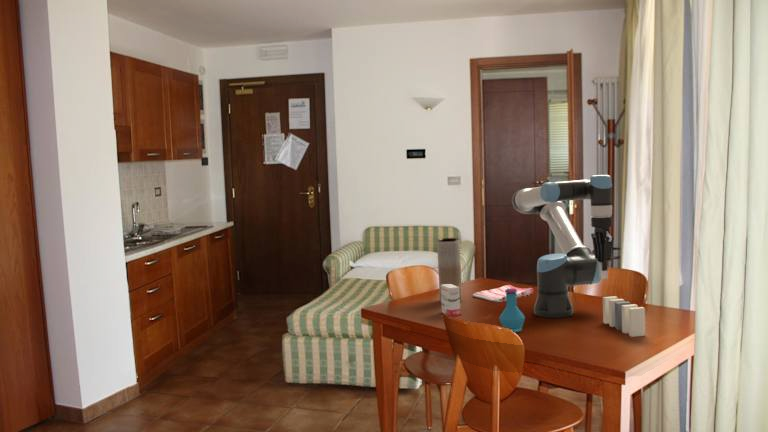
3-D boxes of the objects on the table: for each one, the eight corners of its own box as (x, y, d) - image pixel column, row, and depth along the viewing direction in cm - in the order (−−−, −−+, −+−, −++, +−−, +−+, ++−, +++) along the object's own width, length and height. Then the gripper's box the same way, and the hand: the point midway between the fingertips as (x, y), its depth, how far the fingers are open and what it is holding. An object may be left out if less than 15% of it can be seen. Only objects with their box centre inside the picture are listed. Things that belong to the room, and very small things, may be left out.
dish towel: (534, 295, 295) (534, 287, 295) (498, 304, 281) (498, 296, 281) (507, 289, 309) (506, 282, 308) (471, 298, 295) (471, 290, 295)
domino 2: (615, 328, 232) (614, 302, 232) (628, 327, 233) (627, 301, 232) (618, 330, 231) (617, 303, 230) (631, 328, 231) (630, 302, 231)
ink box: (461, 315, 264) (460, 286, 263) (450, 316, 262) (448, 288, 261) (452, 310, 272) (450, 283, 271) (441, 312, 270) (439, 284, 269)
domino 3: (638, 332, 227) (637, 305, 226) (624, 333, 226) (624, 306, 225) (635, 330, 229) (634, 304, 228) (622, 332, 228) (621, 305, 227)
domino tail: (645, 335, 223) (644, 308, 222) (631, 336, 222) (631, 309, 221) (642, 334, 224) (641, 306, 223) (629, 335, 224) (628, 308, 223)
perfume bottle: (520, 334, 232) (518, 292, 231) (496, 331, 237) (494, 291, 236) (528, 327, 240) (527, 287, 239) (505, 325, 245) (503, 286, 244)
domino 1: (624, 325, 236) (624, 299, 235) (611, 326, 235) (611, 300, 234) (622, 324, 238) (621, 298, 237) (609, 325, 237) (608, 299, 236)
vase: (449, 298, 296) (446, 237, 293) (466, 300, 289) (464, 238, 286) (435, 302, 289) (432, 240, 286) (452, 305, 282) (449, 241, 279)
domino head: (618, 322, 240) (617, 297, 239) (605, 323, 239) (605, 298, 239) (615, 321, 242) (615, 296, 241) (603, 322, 241) (602, 297, 240)
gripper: (620, 217, 236) (621, 280, 238) (602, 214, 249) (603, 274, 251) (600, 218, 235) (602, 282, 237) (584, 215, 248) (585, 276, 250)
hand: (603, 278), depth 244 cm, fingers closed
